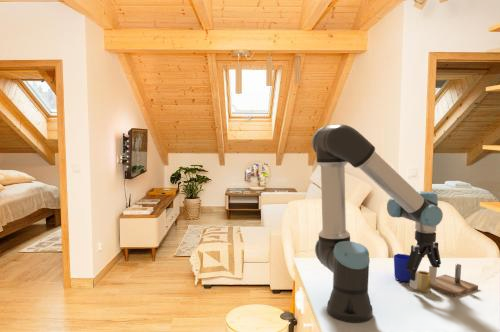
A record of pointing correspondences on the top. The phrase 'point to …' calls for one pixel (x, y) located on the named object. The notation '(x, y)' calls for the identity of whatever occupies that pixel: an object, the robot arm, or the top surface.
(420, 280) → the bushing
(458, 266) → the post
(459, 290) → the board
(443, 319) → the top surface
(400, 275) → the mug
